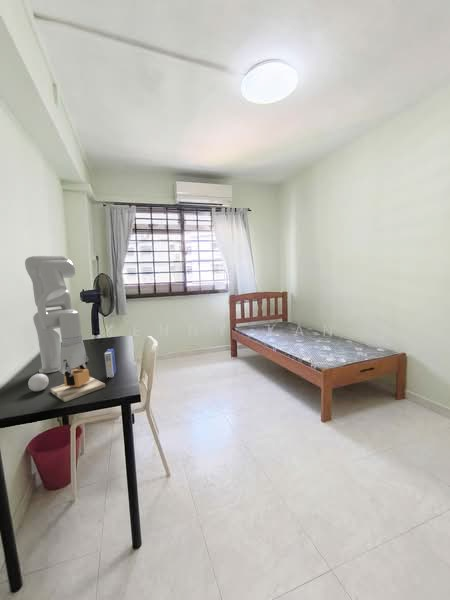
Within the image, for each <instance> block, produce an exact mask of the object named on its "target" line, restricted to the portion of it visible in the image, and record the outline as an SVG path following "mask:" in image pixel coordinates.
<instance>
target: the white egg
mask: <svg viewBox="0 0 450 600" xmlns="http://www.w3.org/2000/svg"><path fill="white" fill-rule="evenodd" d="M49 381H50V380H49V377H48V376H47V374H45V373H36V374H34V375H31V377H30V378H29V379H28V381H27V382H28V383H27V386H28V388H29V389H30V390H31V391H33V392H40V391H44V389H46V388H47V386H48V385H49Z"/></svg>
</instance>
